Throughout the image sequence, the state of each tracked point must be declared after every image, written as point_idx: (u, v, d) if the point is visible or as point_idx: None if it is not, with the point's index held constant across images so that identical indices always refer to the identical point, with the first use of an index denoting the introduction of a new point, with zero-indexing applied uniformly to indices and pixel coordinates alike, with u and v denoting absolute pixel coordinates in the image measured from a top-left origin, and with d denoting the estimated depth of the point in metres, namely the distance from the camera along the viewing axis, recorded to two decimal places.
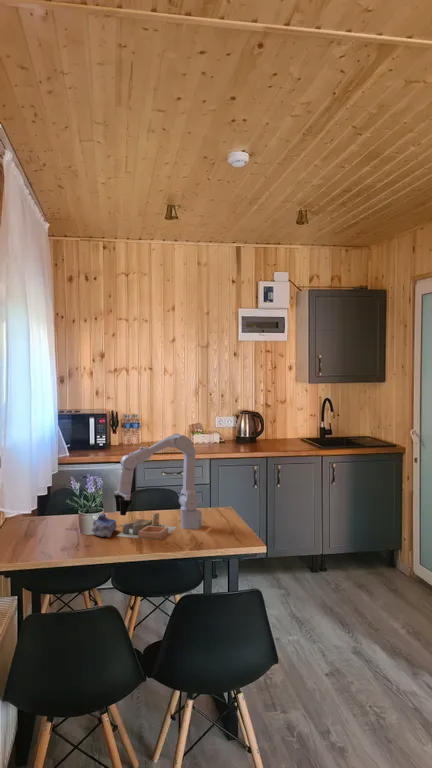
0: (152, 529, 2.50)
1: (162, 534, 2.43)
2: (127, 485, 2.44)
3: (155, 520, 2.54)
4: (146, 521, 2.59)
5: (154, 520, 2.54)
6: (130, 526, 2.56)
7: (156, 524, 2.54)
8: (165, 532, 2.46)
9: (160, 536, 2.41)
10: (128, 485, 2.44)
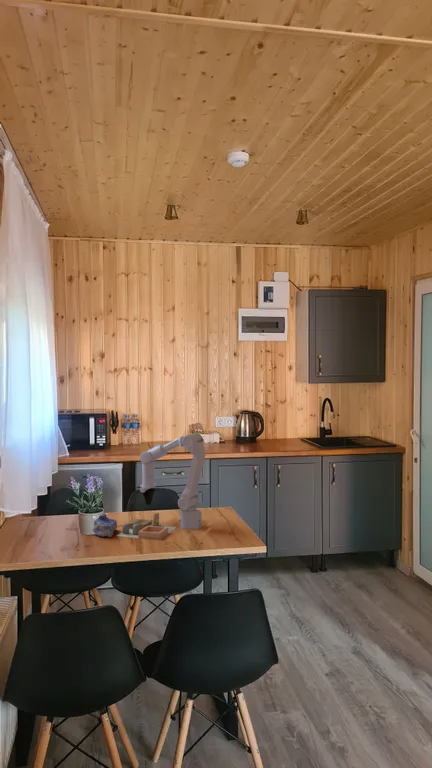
0: (152, 529, 2.50)
1: (162, 534, 2.43)
2: (146, 478, 2.64)
3: (155, 520, 2.54)
4: (146, 521, 2.59)
5: (154, 520, 2.54)
6: (130, 526, 2.56)
7: (156, 524, 2.54)
8: (165, 532, 2.46)
9: (160, 536, 2.41)
10: (147, 478, 2.64)
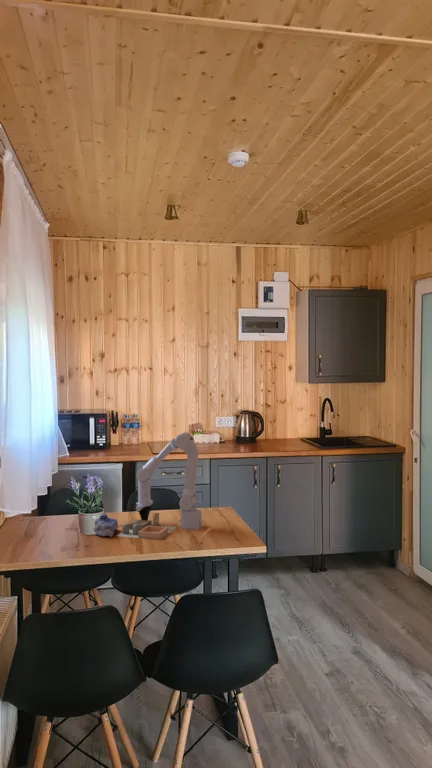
0: (152, 529, 2.50)
1: (162, 534, 2.43)
2: (142, 496, 2.60)
3: (155, 520, 2.54)
4: (145, 521, 2.58)
5: (154, 520, 2.54)
6: (129, 526, 2.55)
7: (156, 524, 2.54)
8: (165, 532, 2.46)
9: (160, 536, 2.41)
10: (143, 496, 2.60)
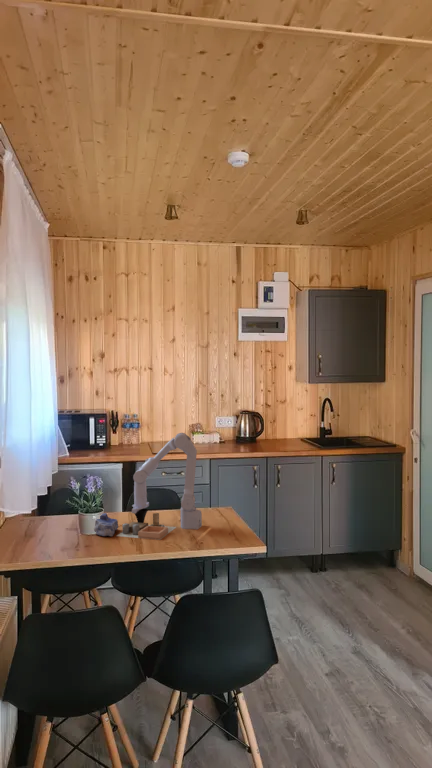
0: (152, 529, 2.50)
1: (162, 534, 2.43)
2: (138, 498, 2.55)
3: (155, 520, 2.54)
4: (142, 524, 2.54)
5: (154, 520, 2.54)
6: None
7: (156, 524, 2.54)
8: (165, 532, 2.46)
9: (160, 536, 2.41)
10: (139, 498, 2.55)
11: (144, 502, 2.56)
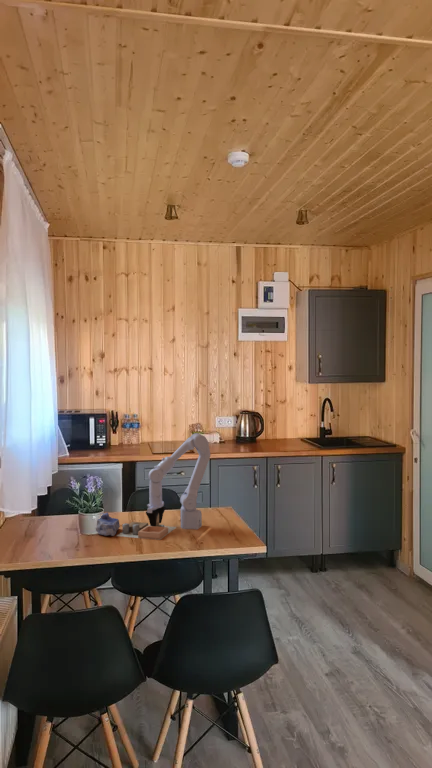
0: (152, 529, 2.50)
1: (162, 534, 2.43)
2: (154, 498, 2.52)
3: None
4: (142, 524, 2.54)
5: None
6: None
7: (156, 524, 2.54)
8: (165, 532, 2.46)
9: (160, 536, 2.41)
10: (155, 498, 2.52)
11: (159, 501, 2.53)
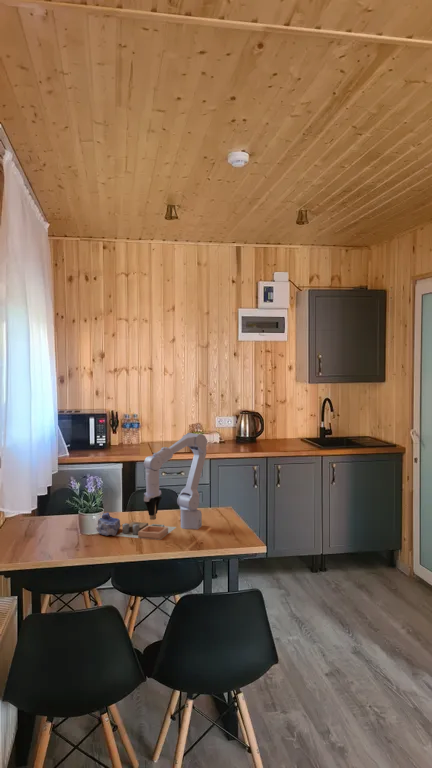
0: (152, 529, 2.50)
1: (162, 534, 2.43)
2: (150, 486, 2.43)
3: None
4: (142, 524, 2.54)
5: None
6: None
7: None
8: (165, 532, 2.46)
9: (160, 536, 2.41)
10: (152, 486, 2.43)
11: (157, 490, 2.44)
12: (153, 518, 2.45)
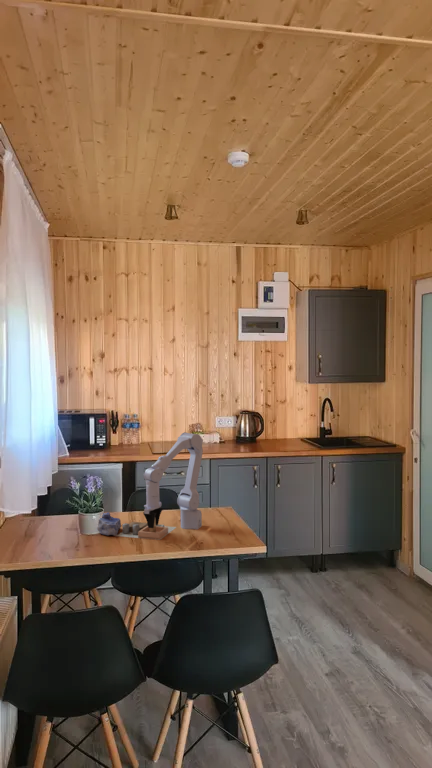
0: None
1: (162, 534, 2.43)
2: (151, 498, 2.43)
3: None
4: (142, 524, 2.54)
5: None
6: None
7: (153, 528, 2.45)
8: (165, 532, 2.46)
9: (160, 536, 2.41)
10: (152, 498, 2.43)
11: (157, 502, 2.44)
12: None
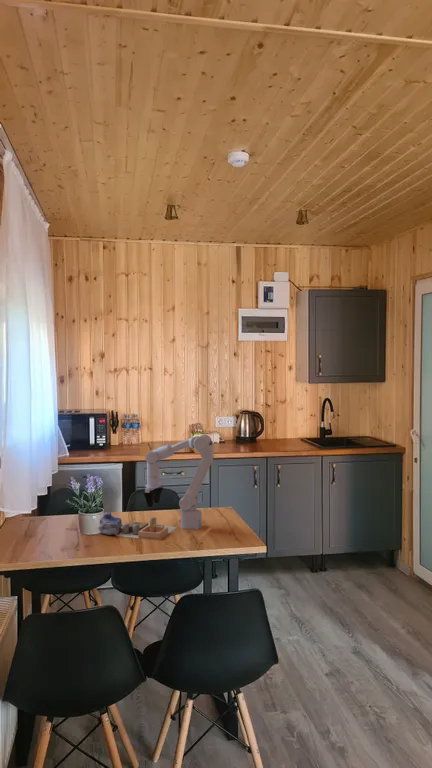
0: None
1: (162, 534, 2.43)
2: (151, 478, 2.59)
3: (152, 525, 2.45)
4: (142, 524, 2.54)
5: (151, 525, 2.45)
6: None
7: (153, 529, 2.45)
8: (165, 532, 2.46)
9: (160, 536, 2.41)
10: (152, 478, 2.59)
11: (157, 482, 2.60)
12: None
